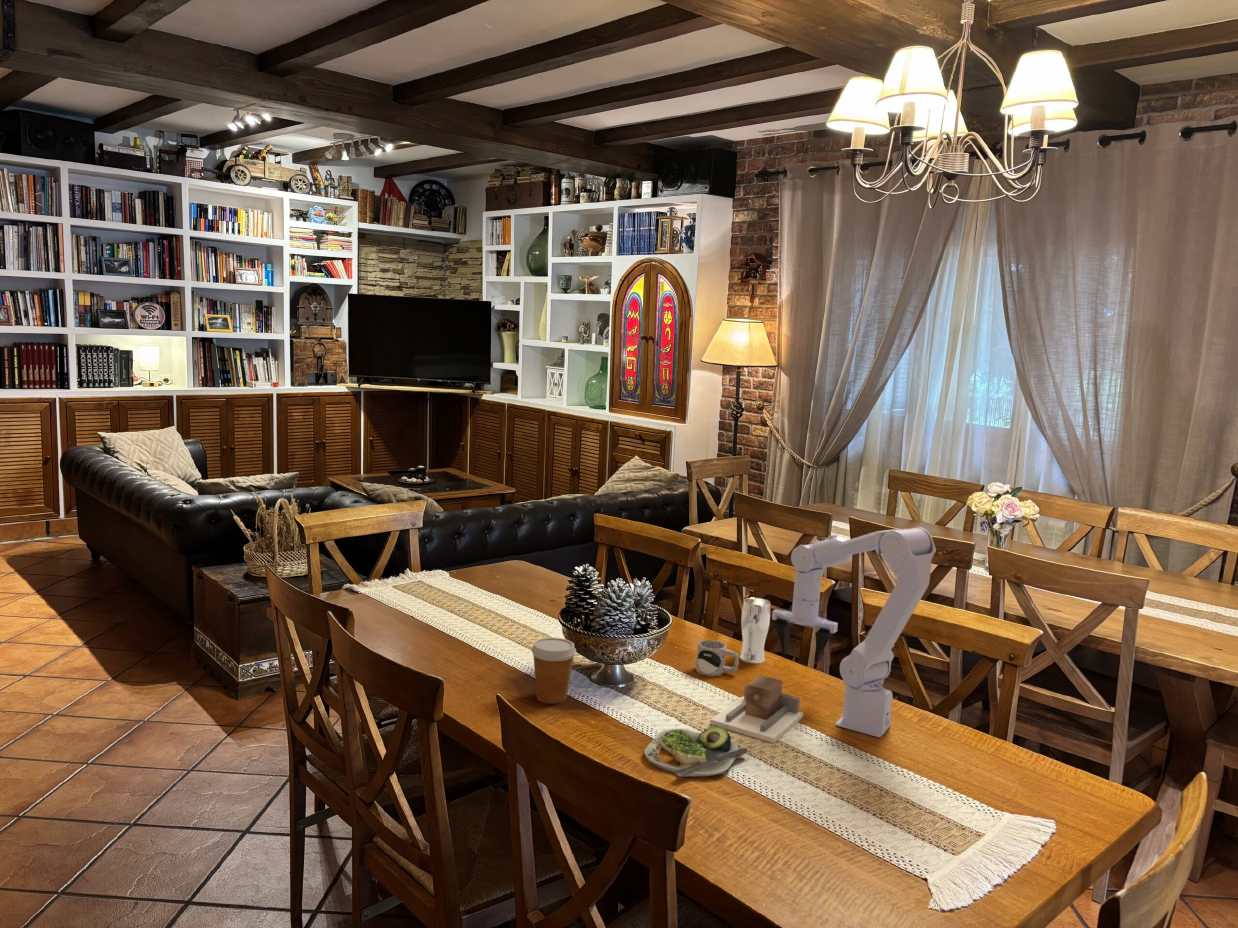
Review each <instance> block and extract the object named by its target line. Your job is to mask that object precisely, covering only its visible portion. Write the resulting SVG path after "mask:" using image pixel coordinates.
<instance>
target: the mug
mask: <svg viewBox="0 0 1238 928" xmlns="http://www.w3.org/2000/svg"><path fill="white" fill-rule="evenodd" d="M726 655H727V656H732V657H733V659H734V663H733V666H727V665H725V663H726ZM739 661H740V656H739V653H737V652H736V651H733V650H731V649H727V644H726V643H724V642H723V641H719V640H715V639H714V640H713V639H702V640H700V641H698V643H697V652H696V664H695V665H696V666H695V668H696V670H695V671H696V673H698V674H699V675H702V676H707V677H720V676H723V675H724V674H725V672H726V673H727V672H729V673H730V672H731V673H732V672H734V673H735V672H737V671H738V668H739Z"/></svg>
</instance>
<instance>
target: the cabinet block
mask: <svg viewBox="0 0 1238 928" xmlns="http://www.w3.org/2000/svg"><path fill="white" fill-rule="evenodd" d="M783 683H784V682H783V679H778V678H774V677H770V676H767V675H762V674H760V675H759V676H757V677H756V678H754V679H753V680H752V681H750V682H749V683H747V684H746V685H747V697H746V709H745V714H746V715H750V716H753V717H757V718H760V719H764V720H767V719H768V718H770V717H771V716H772V715H773V714H774V713H776V712H777V711H778V710H779V709H780V706H781V694H782V693H783V692H782V691H783Z"/></svg>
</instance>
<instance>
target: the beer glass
mask: <svg viewBox="0 0 1238 928" xmlns="http://www.w3.org/2000/svg"><path fill="white" fill-rule="evenodd" d="M740 620H741V623H740V624H741V635H742V648H741V652H740V656H739V660H741V661H742V662H745V663H748V664H755V665H756V664H763V663H764V662H765V660H766V659H765V651H764V650H765V644H766V643H765V642H766V639H767V636H768V632H769V628H770V622H771V601H770V600H768V599H765V598H761V597H747V598H744V599H743V604H742V609H741V619H740Z"/></svg>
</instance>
